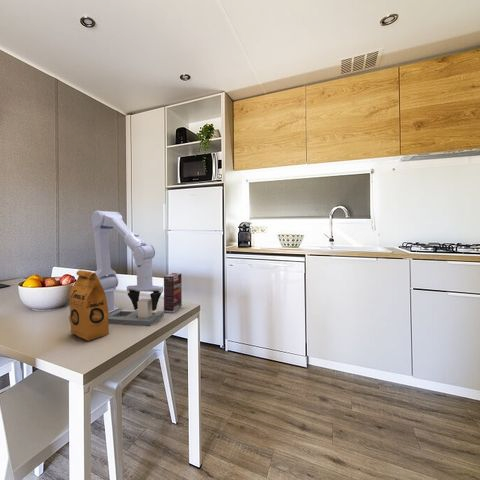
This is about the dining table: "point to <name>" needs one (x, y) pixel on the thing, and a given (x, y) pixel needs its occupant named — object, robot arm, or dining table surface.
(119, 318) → the jack panel
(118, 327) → the dining table surface
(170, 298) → the supplement box
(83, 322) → the coffee package
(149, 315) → the plug block
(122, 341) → the dining table surface
